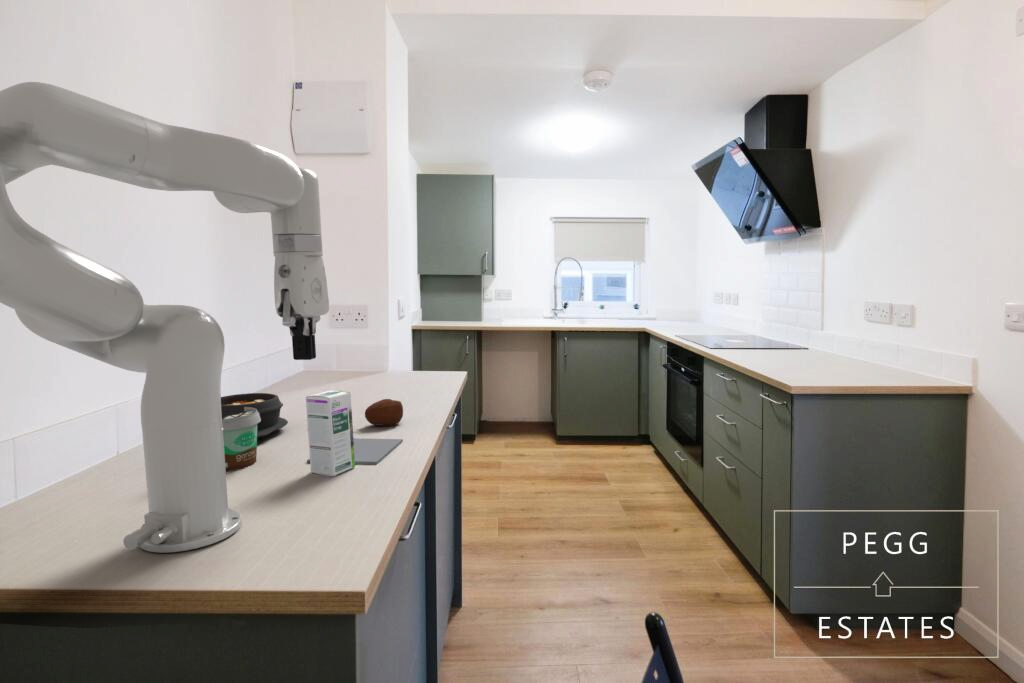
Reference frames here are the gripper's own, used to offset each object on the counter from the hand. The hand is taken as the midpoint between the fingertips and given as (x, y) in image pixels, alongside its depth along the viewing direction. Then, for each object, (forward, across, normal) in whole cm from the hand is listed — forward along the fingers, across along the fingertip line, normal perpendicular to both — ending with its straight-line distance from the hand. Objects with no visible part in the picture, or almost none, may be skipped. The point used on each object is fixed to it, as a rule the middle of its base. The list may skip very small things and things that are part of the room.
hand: (304, 358), depth 97 cm
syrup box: (+22, +8, 0) cm, 24 cm away
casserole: (+22, +32, +32) cm, 51 cm away
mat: (+22, +20, 0) cm, 30 cm away
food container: (+22, +10, +19) cm, 31 cm away
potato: (+23, +42, +2) cm, 48 cm away
